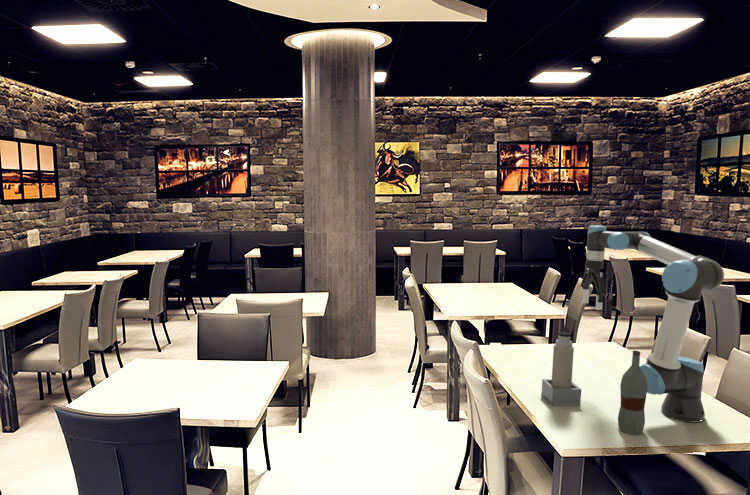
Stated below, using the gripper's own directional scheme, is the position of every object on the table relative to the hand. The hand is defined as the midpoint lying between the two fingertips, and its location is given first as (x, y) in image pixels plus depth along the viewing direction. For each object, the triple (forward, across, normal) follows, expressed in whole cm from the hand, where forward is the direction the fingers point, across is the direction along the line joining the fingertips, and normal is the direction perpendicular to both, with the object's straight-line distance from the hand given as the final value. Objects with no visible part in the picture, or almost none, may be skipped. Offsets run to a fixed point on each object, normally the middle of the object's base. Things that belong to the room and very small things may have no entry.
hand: (591, 306), depth 246 cm
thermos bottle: (+36, +19, -20) cm, 45 cm away
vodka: (+37, +48, -5) cm, 61 cm away
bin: (+37, +19, -20) cm, 46 cm away
